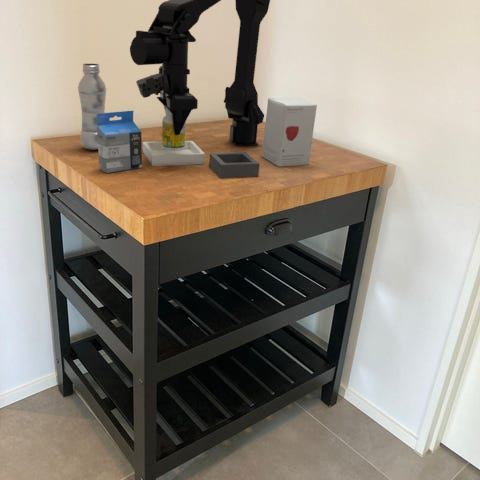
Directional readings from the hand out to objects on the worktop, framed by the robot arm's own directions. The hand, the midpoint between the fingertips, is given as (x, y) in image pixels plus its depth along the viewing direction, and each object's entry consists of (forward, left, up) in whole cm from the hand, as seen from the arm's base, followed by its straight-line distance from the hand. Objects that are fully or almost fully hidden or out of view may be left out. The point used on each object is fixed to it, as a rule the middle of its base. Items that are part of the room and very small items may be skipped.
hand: (173, 131), depth 124 cm
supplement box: (-27, +6, -7) cm, 29 cm away
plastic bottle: (+18, -9, -7) cm, 21 cm away
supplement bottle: (0, 0, -4) cm, 4 cm away
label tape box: (+14, +7, -7) cm, 16 cm away
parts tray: (0, 0, -6) cm, 6 cm away
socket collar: (-11, +12, -6) cm, 17 cm away
